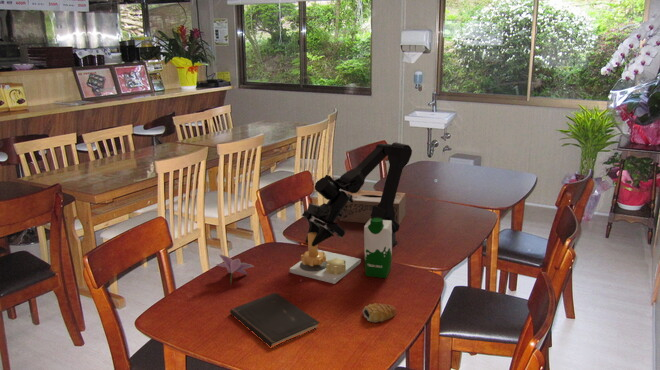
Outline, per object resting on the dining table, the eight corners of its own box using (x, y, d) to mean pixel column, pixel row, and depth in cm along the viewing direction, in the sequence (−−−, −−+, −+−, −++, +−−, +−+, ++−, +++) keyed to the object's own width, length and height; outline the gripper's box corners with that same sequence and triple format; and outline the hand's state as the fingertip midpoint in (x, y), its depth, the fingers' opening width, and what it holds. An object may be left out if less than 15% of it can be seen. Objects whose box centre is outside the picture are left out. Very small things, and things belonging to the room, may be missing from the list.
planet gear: (327, 255, 190) (326, 229, 187) (324, 266, 182) (322, 239, 179) (303, 255, 191) (302, 228, 188) (299, 265, 183) (297, 238, 180)
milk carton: (362, 276, 180) (361, 221, 175) (369, 265, 189) (368, 211, 183) (388, 280, 178) (388, 223, 172) (394, 268, 186) (394, 213, 180)
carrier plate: (361, 263, 191) (361, 251, 189) (335, 284, 176) (335, 271, 175) (317, 253, 200) (317, 242, 199) (289, 272, 185) (289, 260, 184)
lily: (258, 284, 180) (258, 255, 182) (231, 283, 171) (231, 253, 174) (234, 285, 188) (235, 258, 190) (207, 285, 179) (208, 256, 181)
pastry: (389, 307, 161) (389, 296, 160) (400, 318, 155) (400, 306, 154) (360, 314, 158) (360, 302, 157) (370, 325, 152) (370, 314, 151)
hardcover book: (276, 298, 169) (275, 292, 168) (319, 329, 152) (319, 322, 151) (230, 316, 160) (229, 309, 159) (271, 350, 142) (270, 343, 142)
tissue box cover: (339, 221, 232) (339, 199, 229) (349, 210, 245) (348, 189, 242) (398, 226, 224) (398, 203, 221) (405, 214, 237) (405, 193, 234)
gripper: (305, 188, 189) (280, 225, 186) (336, 201, 174) (310, 241, 171) (324, 204, 196) (300, 240, 193) (356, 218, 181) (331, 257, 178)
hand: (309, 244), depth 184 cm, fingers closed on planet gear, 3 cm apart
